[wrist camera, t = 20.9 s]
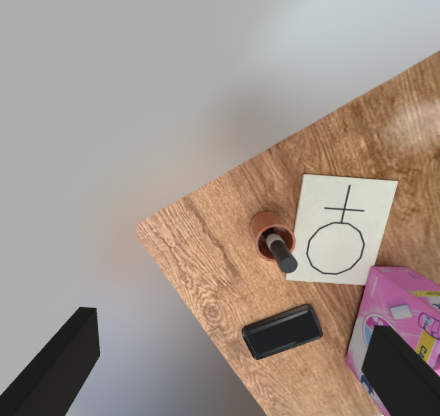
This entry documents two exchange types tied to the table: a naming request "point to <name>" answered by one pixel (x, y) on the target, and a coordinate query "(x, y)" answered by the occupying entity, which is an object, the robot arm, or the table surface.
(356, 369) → the gum box
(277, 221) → the pen cup
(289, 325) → the phone
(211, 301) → the table surface
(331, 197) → the notepad
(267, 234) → the marker
